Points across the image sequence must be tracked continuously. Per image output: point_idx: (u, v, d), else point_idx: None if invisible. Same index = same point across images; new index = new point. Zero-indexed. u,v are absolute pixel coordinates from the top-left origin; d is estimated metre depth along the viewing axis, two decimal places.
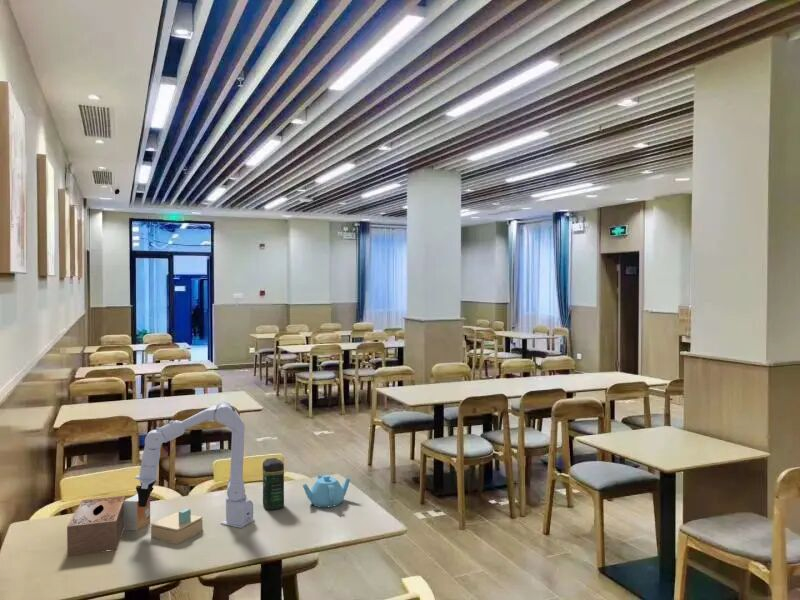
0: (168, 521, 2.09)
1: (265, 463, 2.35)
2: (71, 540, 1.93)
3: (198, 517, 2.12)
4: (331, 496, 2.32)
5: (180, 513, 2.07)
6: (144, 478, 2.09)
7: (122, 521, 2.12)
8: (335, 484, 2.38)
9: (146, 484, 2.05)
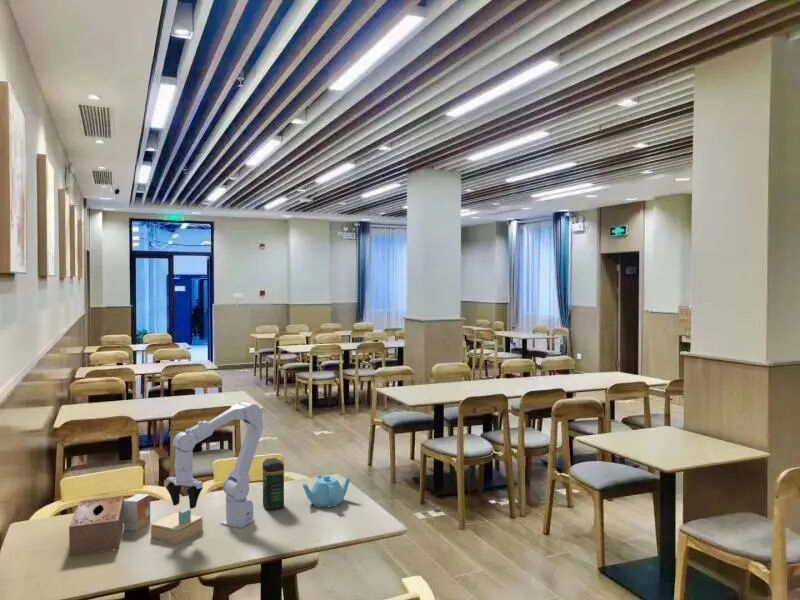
0: (168, 521, 2.09)
1: (265, 463, 2.35)
2: (73, 540, 1.93)
3: (198, 517, 2.12)
4: (331, 496, 2.32)
5: (180, 513, 2.07)
6: (188, 481, 2.06)
7: None
8: (335, 484, 2.38)
9: (201, 483, 2.06)
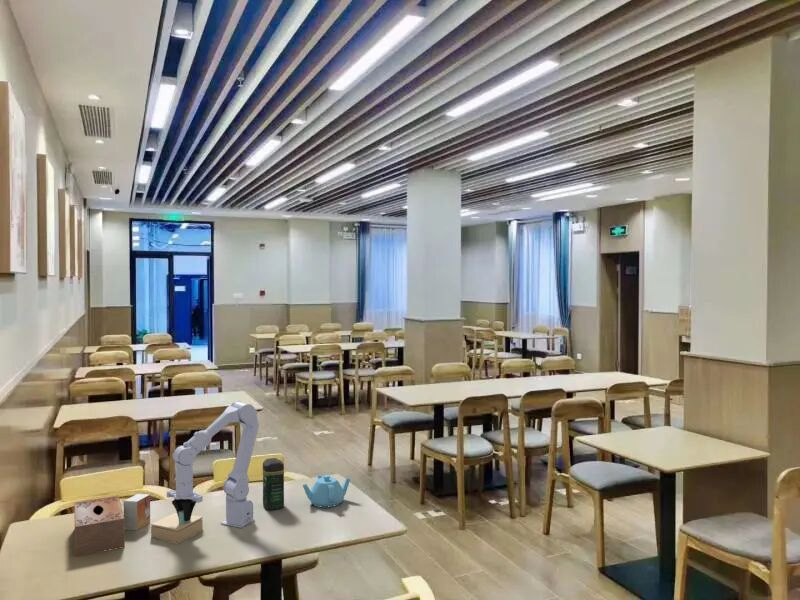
0: (168, 521, 2.09)
1: (265, 463, 2.35)
2: (79, 540, 1.93)
3: (198, 517, 2.12)
4: (331, 496, 2.32)
5: (180, 513, 2.07)
6: (188, 494, 2.06)
7: None
8: (335, 484, 2.38)
9: (201, 497, 2.06)
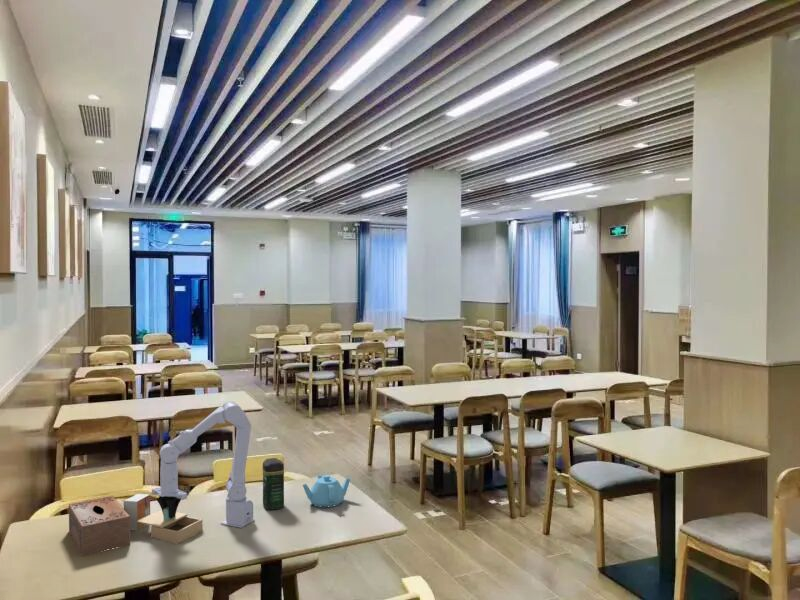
0: (153, 518, 2.12)
1: (265, 463, 2.35)
2: (85, 540, 1.93)
3: (183, 514, 2.15)
4: (331, 496, 2.32)
5: (165, 510, 2.09)
6: (173, 492, 2.09)
7: None
8: (335, 484, 2.38)
9: (185, 494, 2.08)
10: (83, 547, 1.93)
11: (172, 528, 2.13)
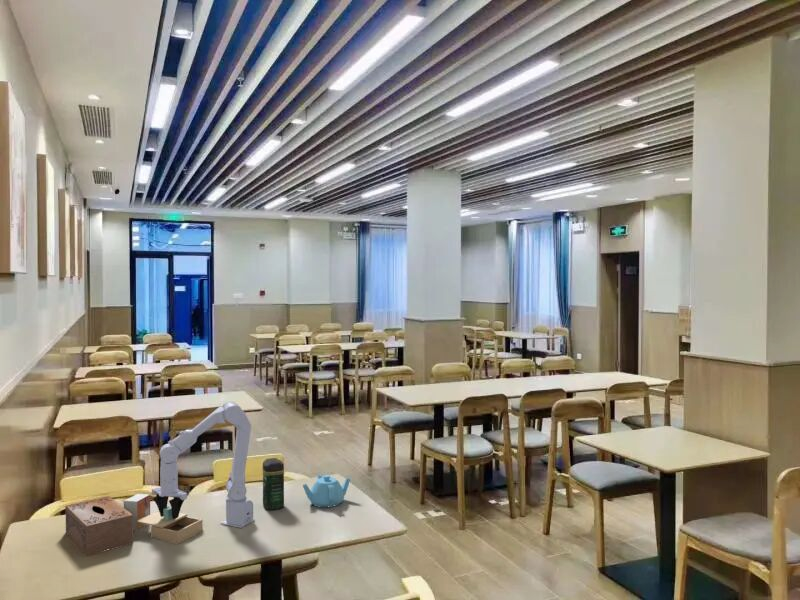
0: (153, 518, 2.12)
1: (265, 463, 2.35)
2: (90, 539, 1.93)
3: (183, 514, 2.15)
4: (331, 496, 2.32)
5: (165, 510, 2.09)
6: (173, 492, 2.09)
7: None
8: (335, 484, 2.38)
9: (185, 494, 2.08)
10: (87, 547, 1.93)
11: (172, 528, 2.13)
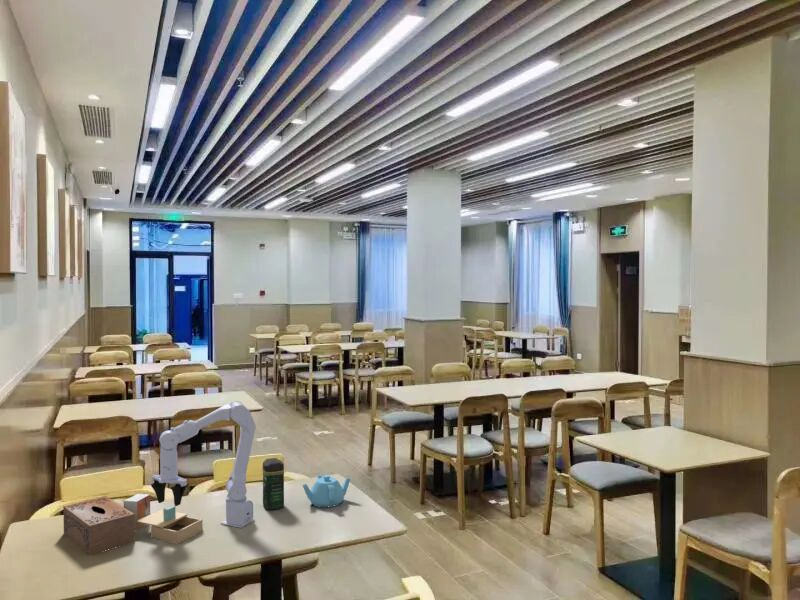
0: (153, 518, 2.12)
1: (265, 463, 2.35)
2: (93, 539, 1.94)
3: (183, 514, 2.15)
4: (331, 496, 2.32)
5: (165, 510, 2.09)
6: (173, 478, 2.09)
7: None
8: (335, 484, 2.38)
9: (185, 480, 2.08)
10: (90, 546, 1.93)
11: (172, 528, 2.13)
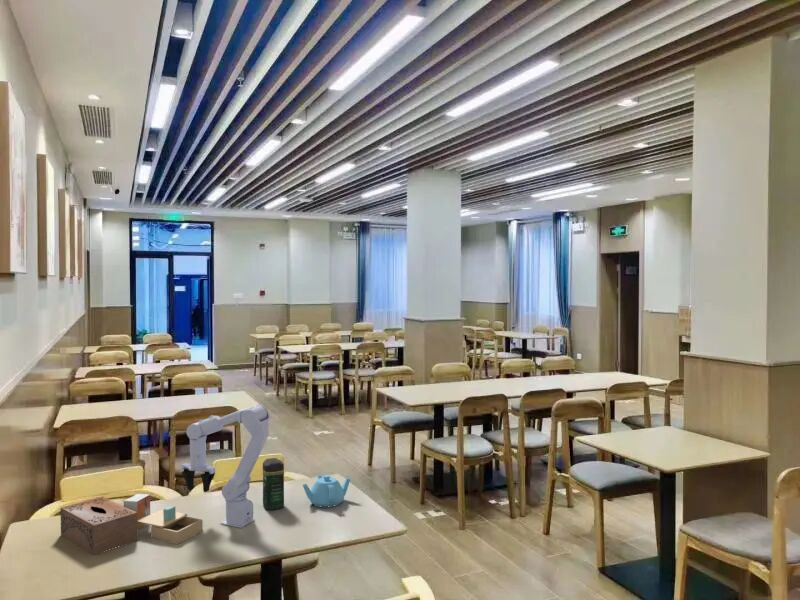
0: (153, 518, 2.12)
1: (265, 463, 2.35)
2: (97, 538, 1.94)
3: (183, 514, 2.15)
4: (331, 496, 2.32)
5: (165, 510, 2.09)
6: (202, 466, 2.23)
7: None
8: (335, 484, 2.38)
9: (214, 468, 2.22)
10: (95, 546, 1.94)
11: (172, 528, 2.13)
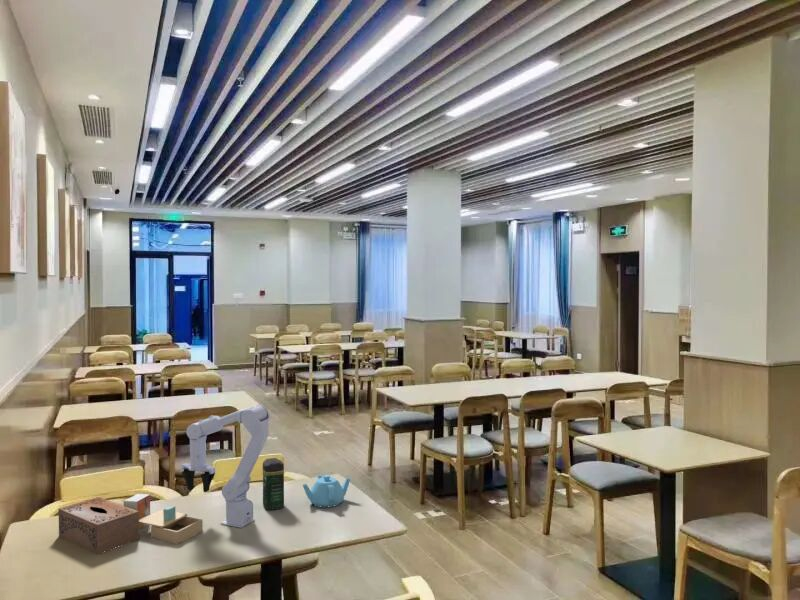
0: (153, 518, 2.12)
1: (265, 463, 2.35)
2: (100, 538, 1.95)
3: (183, 514, 2.15)
4: (331, 496, 2.32)
5: (165, 510, 2.09)
6: (202, 466, 2.23)
7: None
8: (335, 484, 2.38)
9: (214, 468, 2.22)
10: (98, 545, 1.94)
11: (172, 528, 2.13)
